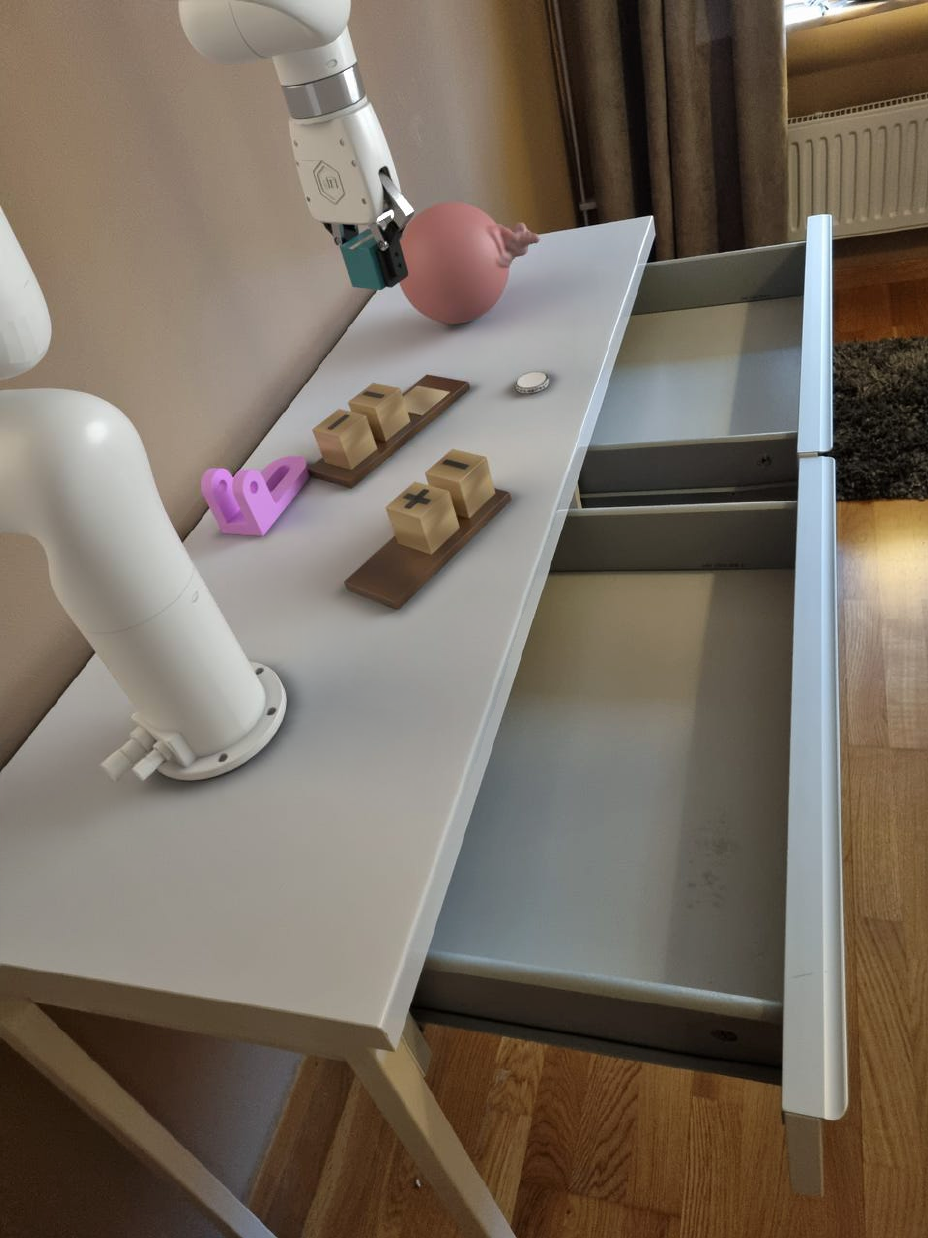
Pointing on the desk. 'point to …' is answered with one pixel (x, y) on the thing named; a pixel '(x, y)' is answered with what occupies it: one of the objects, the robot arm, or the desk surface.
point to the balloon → (459, 261)
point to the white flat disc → (532, 382)
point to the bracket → (253, 494)
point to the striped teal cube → (363, 261)
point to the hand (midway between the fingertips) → (379, 278)
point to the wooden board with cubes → (430, 527)
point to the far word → (378, 426)
